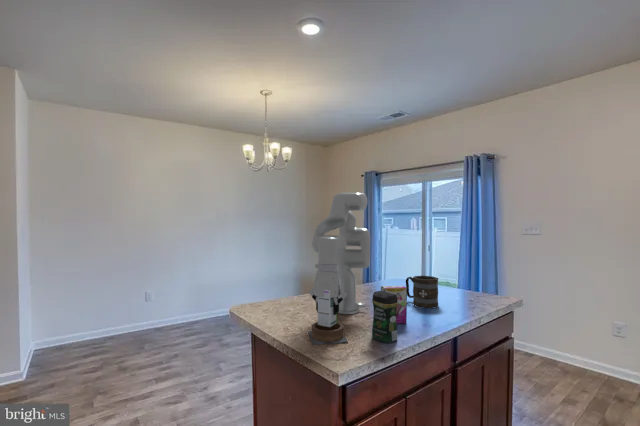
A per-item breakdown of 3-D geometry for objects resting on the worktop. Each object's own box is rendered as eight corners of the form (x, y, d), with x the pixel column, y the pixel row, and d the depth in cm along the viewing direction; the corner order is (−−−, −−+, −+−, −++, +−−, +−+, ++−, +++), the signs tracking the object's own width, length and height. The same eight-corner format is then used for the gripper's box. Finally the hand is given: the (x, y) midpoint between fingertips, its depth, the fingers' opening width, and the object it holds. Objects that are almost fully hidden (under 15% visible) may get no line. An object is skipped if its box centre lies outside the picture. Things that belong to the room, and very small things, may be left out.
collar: (340, 330, 140) (340, 320, 140) (348, 342, 127) (348, 331, 127) (308, 332, 138) (308, 321, 138) (312, 344, 125) (312, 332, 125)
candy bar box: (383, 325, 148) (383, 288, 148) (379, 321, 153) (379, 285, 153) (407, 323, 150) (407, 287, 150) (402, 320, 155) (402, 285, 155)
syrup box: (330, 327, 129) (330, 290, 129) (317, 324, 132) (317, 288, 132) (337, 323, 133) (337, 287, 134) (324, 321, 137) (324, 285, 137)
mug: (443, 305, 181) (443, 278, 181) (429, 310, 172) (429, 281, 172) (413, 298, 196) (413, 273, 196) (398, 302, 188) (398, 275, 188)
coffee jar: (368, 337, 132) (368, 291, 133) (382, 333, 137) (382, 288, 137) (387, 345, 125) (387, 295, 125) (401, 340, 130) (401, 292, 130)
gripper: (304, 267, 133) (303, 313, 132) (345, 270, 126) (345, 318, 126) (311, 265, 140) (311, 308, 139) (351, 267, 133) (351, 312, 133)
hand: (327, 312), depth 133 cm, fingers closed on syrup box, 6 cm apart
